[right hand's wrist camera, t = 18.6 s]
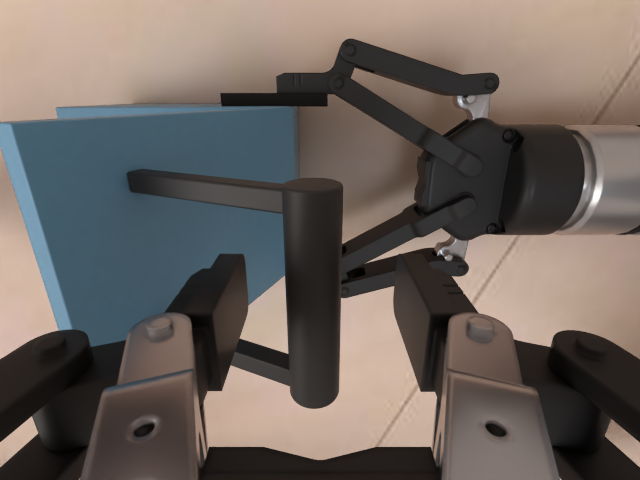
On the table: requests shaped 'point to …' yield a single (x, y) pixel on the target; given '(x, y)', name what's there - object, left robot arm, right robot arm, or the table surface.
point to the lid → (183, 226)
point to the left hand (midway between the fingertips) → (233, 181)
